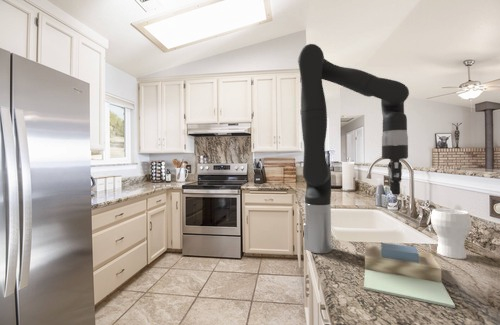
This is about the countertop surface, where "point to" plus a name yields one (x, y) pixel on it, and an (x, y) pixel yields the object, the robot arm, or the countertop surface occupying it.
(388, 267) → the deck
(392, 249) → the tile
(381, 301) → the countertop surface
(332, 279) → the countertop surface
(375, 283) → the mat
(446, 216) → the white vase
